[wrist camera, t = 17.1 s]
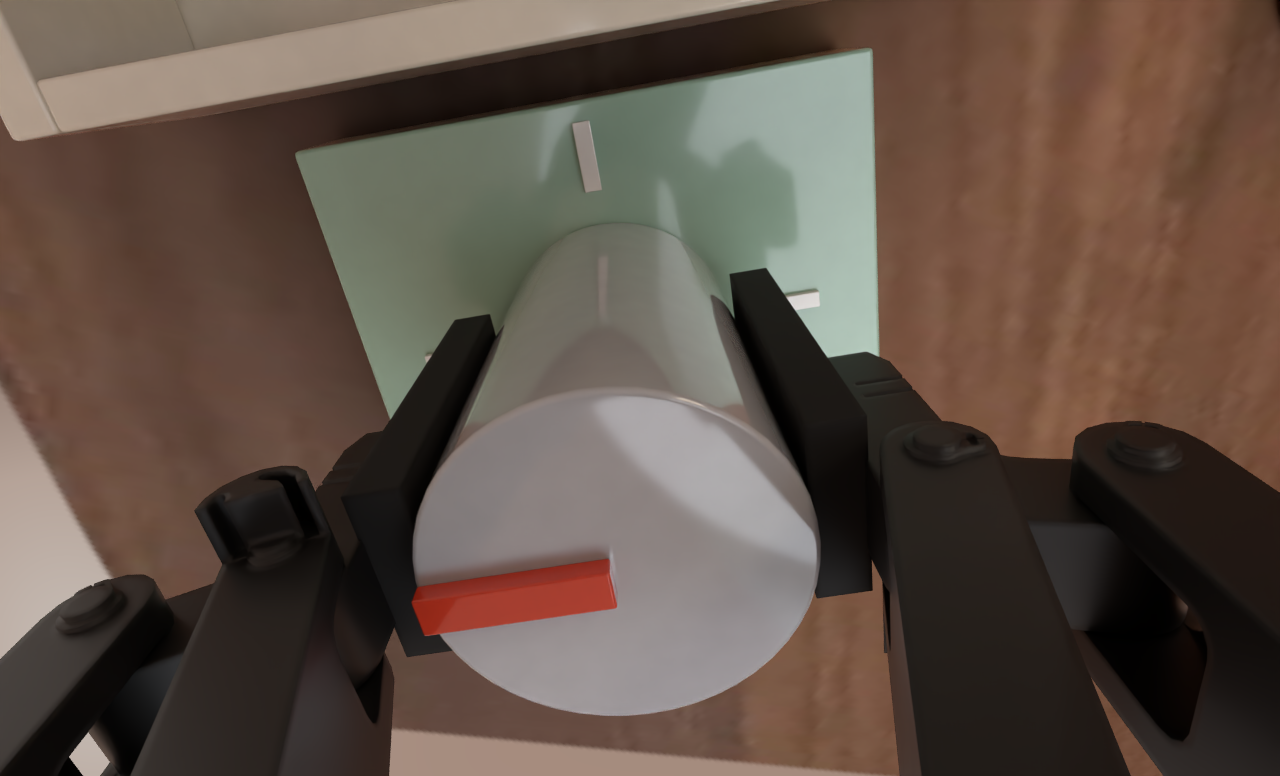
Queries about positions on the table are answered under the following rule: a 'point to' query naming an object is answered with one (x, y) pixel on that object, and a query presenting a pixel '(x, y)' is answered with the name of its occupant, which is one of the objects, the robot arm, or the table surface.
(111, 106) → the cream open storage tray
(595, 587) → the tap knob
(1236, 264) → the table surface
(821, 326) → the green dial base plate
